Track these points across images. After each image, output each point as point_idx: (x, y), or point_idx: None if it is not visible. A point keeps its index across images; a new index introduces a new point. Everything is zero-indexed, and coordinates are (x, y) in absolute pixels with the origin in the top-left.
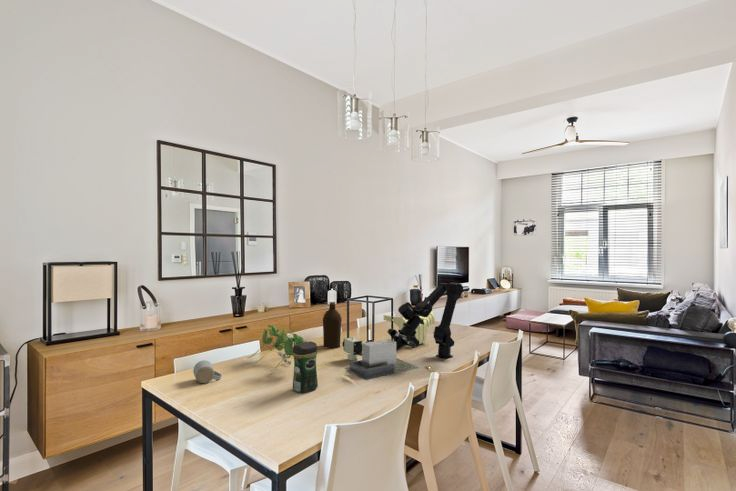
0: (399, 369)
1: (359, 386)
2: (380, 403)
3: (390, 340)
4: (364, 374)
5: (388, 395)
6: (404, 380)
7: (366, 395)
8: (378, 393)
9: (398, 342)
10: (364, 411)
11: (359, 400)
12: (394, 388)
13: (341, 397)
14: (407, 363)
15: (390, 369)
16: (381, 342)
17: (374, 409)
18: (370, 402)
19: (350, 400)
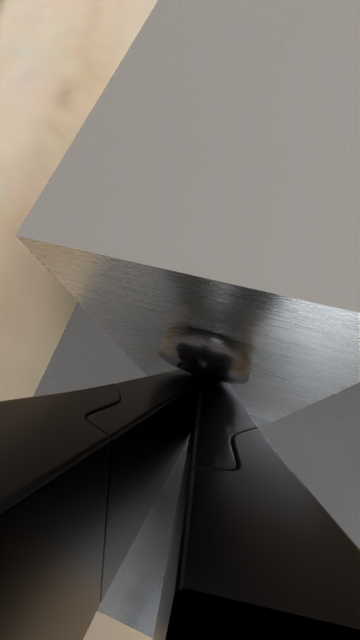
0: (106, 363)
1: None
2: (7, 53)
3: (244, 225)
4: None
5: (9, 101)
6: (10, 260)
7: (85, 57)
8: (54, 90)
9: (45, 402)
10: (27, 7)
11: (82, 28)
12: (16, 156)
13: (150, 6)
14: (129, 595)
15: None
16: (272, 1)
17: (6, 26)
18: (41, 40)
19: (108, 13)
